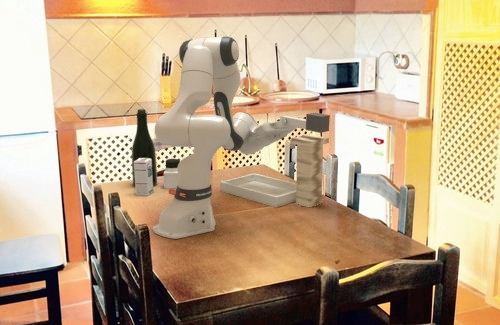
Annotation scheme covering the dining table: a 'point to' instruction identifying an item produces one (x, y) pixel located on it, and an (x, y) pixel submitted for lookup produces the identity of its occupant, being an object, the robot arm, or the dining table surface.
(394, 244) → the dining table surface
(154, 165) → the wine bottle
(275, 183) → the tray
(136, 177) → the syrup box
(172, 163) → the medicine bottle
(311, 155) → the ribbed beige tower
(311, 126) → the grey mallet
